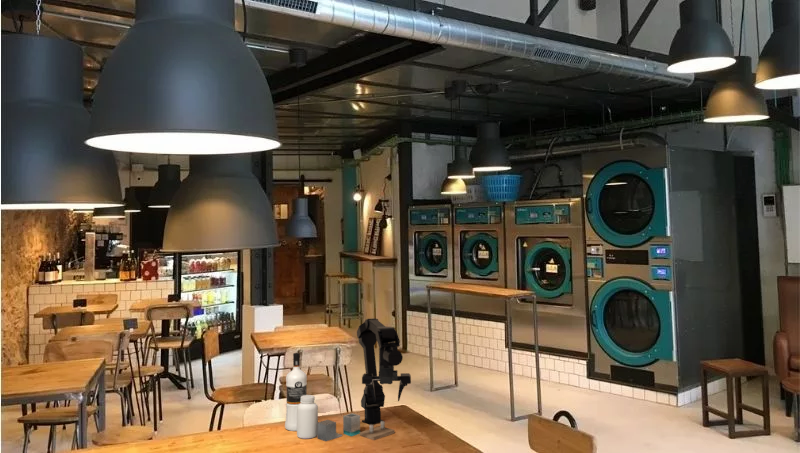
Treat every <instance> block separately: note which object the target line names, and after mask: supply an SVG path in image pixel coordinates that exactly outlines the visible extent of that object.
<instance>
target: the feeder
mask: <svg viewBox="0 0 800 453" xmlns="http://www.w3.org/2000/svg"><path fill="white" fill-rule="evenodd" d="M316 437H317V440H321V441H323V442H328V441H332V440H334V439H338V438H341V437H343V434H342V433H339V432H337V422H336V421H334V420H330V419H325V420H322V421H319V422H318V423H317V436H316Z"/></svg>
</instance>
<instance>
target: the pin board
mask: <svg viewBox="0 0 800 453" xmlns="http://www.w3.org/2000/svg"><path fill="white" fill-rule="evenodd" d="M385 423H386V422H385V421H384V420H383V421H381V422H380V425H379V426H376V427H375V426H374V425H375V424H373V425H372V424H369V429H366V430H363V431H360V434H359V437H363V438H367V439H369V440H372V441H376V440H379V439H381V438H385V437H387V436H391V435H393V434H395V429H392V428H388V427H386V424H385Z"/></svg>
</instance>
